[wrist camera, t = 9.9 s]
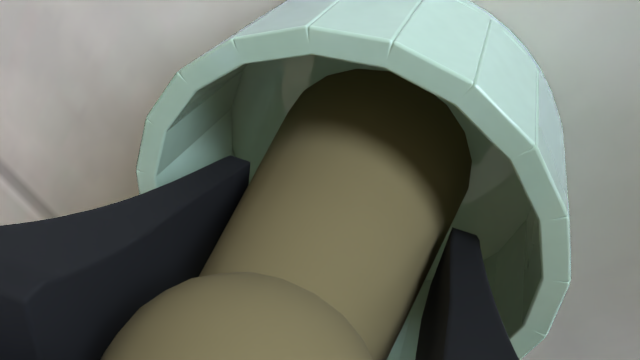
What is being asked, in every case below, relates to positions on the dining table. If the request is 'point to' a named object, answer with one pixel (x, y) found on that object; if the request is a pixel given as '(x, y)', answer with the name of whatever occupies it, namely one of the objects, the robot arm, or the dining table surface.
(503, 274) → the green bowl
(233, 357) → the cork
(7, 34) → the dining table surface
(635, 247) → the dining table surface
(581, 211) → the dining table surface
